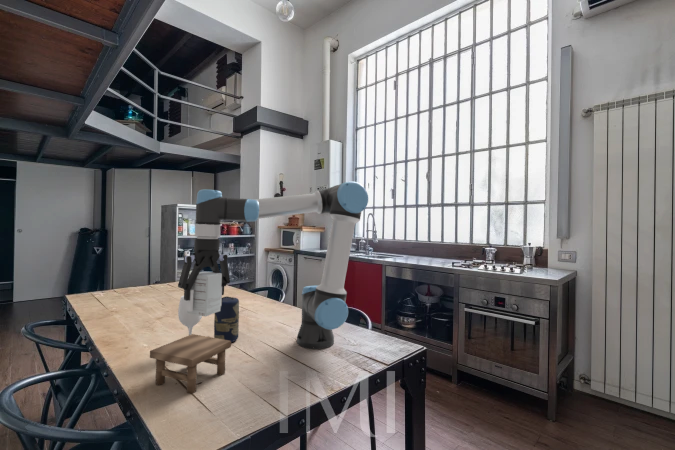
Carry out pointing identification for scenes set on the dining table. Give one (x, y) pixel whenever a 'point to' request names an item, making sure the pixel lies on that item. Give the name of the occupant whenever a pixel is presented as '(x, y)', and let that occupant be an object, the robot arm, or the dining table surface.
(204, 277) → the supplement box
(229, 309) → the canister
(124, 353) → the dining table surface
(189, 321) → the wineglass
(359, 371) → the dining table surface
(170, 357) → the stool
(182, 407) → the dining table surface
